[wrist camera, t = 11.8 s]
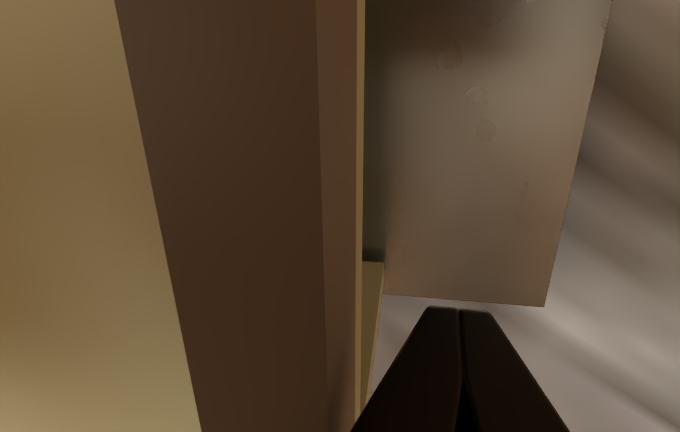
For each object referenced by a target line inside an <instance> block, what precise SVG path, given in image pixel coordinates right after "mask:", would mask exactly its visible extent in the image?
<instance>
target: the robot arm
mask: <svg viewBox="0 0 680 432" xmlns="http://www.w3.org/2000/svg"><path fill="white" fill-rule="evenodd" d="M350 432H570V431H569V429H568V428H567V426H566V425H565V423H564V422H563V420H562V419H561V417H560V416H559V414H558V413H557V411H556V410H555V408H554V407H553V405H552V404H551V402H550V401H549V399H548V398H547V396H546V395H545V393H544V392H543V390H542V389H541V387H540V386H539V384H538V383H537V381H536V380H535V378H534V377H533V375H532V374H531V372H530V371H529V369H528V368H527V366H526V365H525V363H524V362H523V361H522V359H521V358H520V356H519V355H518V353H517V352H516V350H515V349H514V347H513V346H512V344H511V343H510V341H509V340H508V338H507V337H506V335H505V334H504V332H503V331H502V329H501V328H500V326H499V325H498V323H497V322H496V320H495V319H494V317H493V316H492V314H491V313H490V312H488V311H485V310H475V309H464V308H461V309H459V310H458V309H457V308H454V307H443V306H429V307H427V308H426V309H425V311H424V312H423V314H422V316H421V317H420V319H419V321H418V322H417V324H416V325H415V327H414V329H413V330H412V332H411V333H410V335H409V337H408V338H407V340H406V342H405V343H404V345H403V346H402V348H401V350H400V351H399V353H398V354H397V356H396V358H395V359H394V361H393V363H392V364H391V366H390V367H389V369H388V371H387V372H386V374H385V375H384V377H383V379H382V380H381V382H380V383H379V385H378V387H377V388H376V390H375V392H374V393H373V395H372V396H371V398H370V400H369V401H368V403H367V404H366V406H365V408H364V409H363V411H362V413H361V414H360V416H359V417H358V419H357V421H356V422H355V424H354V425H353V427H352V429H351V430H350Z"/></svg>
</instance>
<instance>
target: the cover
mask: <svg viewBox="0 0 680 432" xmlns="http://www.w3.org/2000/svg"><path fill="white" fill-rule="evenodd" d="M364 53H365V0H0V432H350V430H351V429H352V427H353V425H354V424H355V422H356V421H357V419H358V417H359V416H360V414H361V413H362V411H363V409H364V408H365V406H366V404H367V403H368V401H369V393H370V385H371V377H372V369H373V362H374V354H375V346H376V338H377V330H378V322H379V314H380V306H381V299H382V291H383V272H384V263H381V262H368V261H362V219H363V136H364Z"/></svg>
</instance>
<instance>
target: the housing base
mask: <svg viewBox="0 0 680 432" xmlns="http://www.w3.org/2000/svg"><path fill="white" fill-rule="evenodd" d="M612 1H613V0H365V53H364V136H363V219H362V261H368V262H381V263H384V272H383V291H382V294H390V295H402V296H414V297H426V298H438V299H451V300H463V301H475V302H487V303H499V304H511V305H523V306H535V307H544V305H545V300H546V296H547V292H548V287H549V283H550V278H551V274H552V269H553V265H554V260H555V256H556V251H557V247H558V242H559V238H560V233H561V229H562V224H563V220H564V215H565V211H566V207H567V202H568V198H569V193H570V189H571V184H572V180H573V175H574V171H575V166H576V162H577V157H578V153H579V148H580V144H581V139H582V135H583V130H584V126H585V122H586V117H587V113H588V108H589V104H590V99H591V95H592V90H593V86H594V81H595V77H596V72H597V68H598V63H599V59H600V54H601V50H602V45H603V41H604V36H605V32H606V28H607V23H608V19H609V14H610V10H611V5H612Z"/></svg>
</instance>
